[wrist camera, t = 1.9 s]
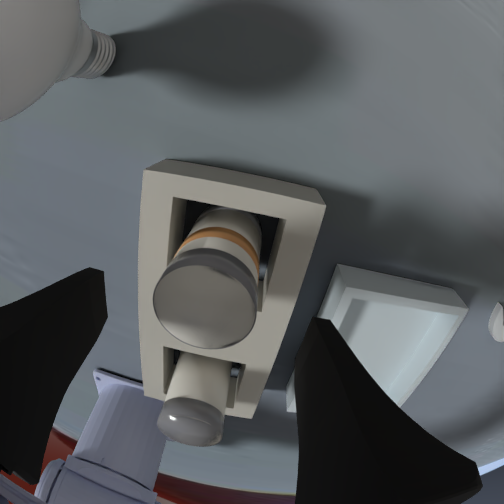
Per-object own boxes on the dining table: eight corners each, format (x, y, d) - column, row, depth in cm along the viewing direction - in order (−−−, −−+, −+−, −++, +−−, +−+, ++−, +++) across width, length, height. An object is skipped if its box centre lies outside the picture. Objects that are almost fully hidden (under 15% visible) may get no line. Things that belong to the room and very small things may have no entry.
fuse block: (253, 388, 22) (251, 418, 19) (155, 367, 22) (144, 395, 19) (316, 188, 15) (326, 205, 12) (165, 159, 15) (143, 169, 12)
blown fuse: (254, 269, 17) (245, 357, 11) (191, 256, 17) (152, 336, 11) (268, 209, 16) (267, 277, 9) (200, 195, 16) (153, 253, 9)
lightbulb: (81, 6, 10) (-58, -31, 1) (170, 15, 11) (38, -79, 1) (47, 100, 13) (-103, 129, 3) (128, 121, 14) (-46, 162, 4)
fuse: (230, 370, 21) (218, 451, 15) (181, 360, 21) (158, 437, 15) (238, 336, 20) (226, 423, 13) (184, 324, 20) (155, 407, 13)
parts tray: (385, 393, 22) (392, 415, 20) (286, 386, 22) (286, 411, 19) (452, 288, 17) (469, 309, 15) (337, 263, 17) (346, 286, 15)
